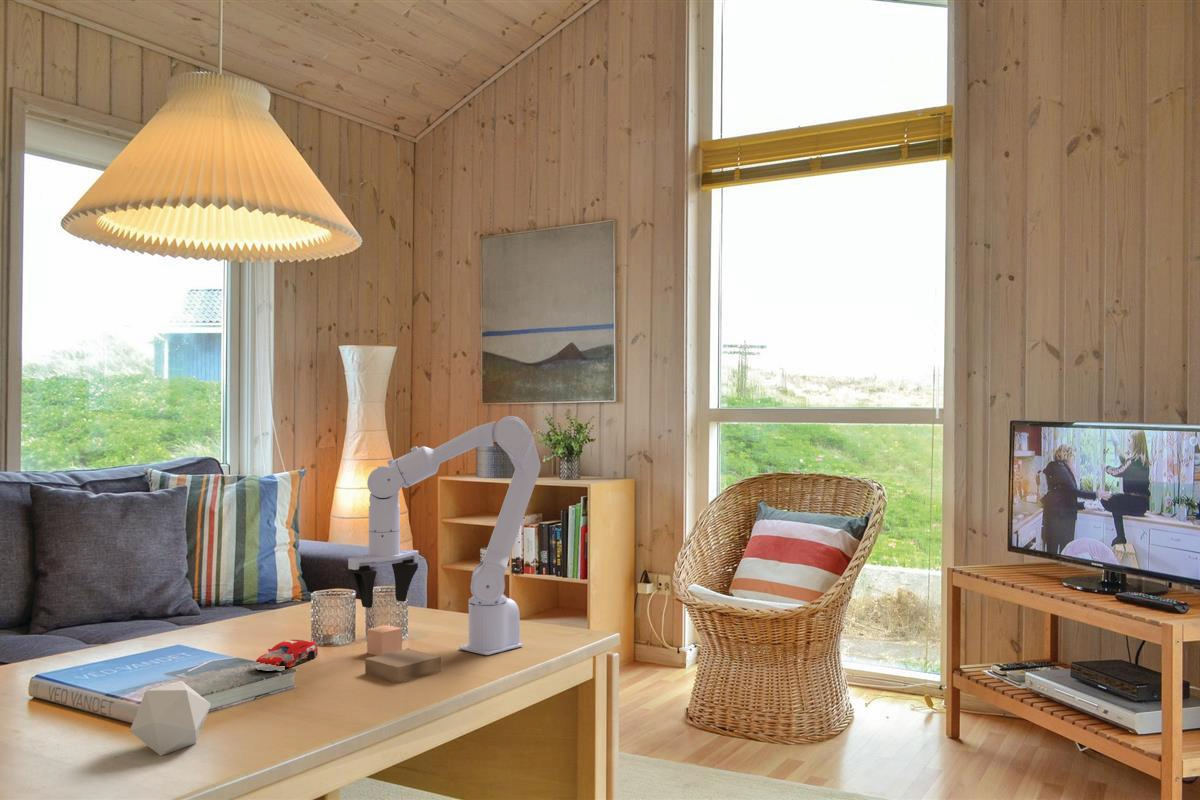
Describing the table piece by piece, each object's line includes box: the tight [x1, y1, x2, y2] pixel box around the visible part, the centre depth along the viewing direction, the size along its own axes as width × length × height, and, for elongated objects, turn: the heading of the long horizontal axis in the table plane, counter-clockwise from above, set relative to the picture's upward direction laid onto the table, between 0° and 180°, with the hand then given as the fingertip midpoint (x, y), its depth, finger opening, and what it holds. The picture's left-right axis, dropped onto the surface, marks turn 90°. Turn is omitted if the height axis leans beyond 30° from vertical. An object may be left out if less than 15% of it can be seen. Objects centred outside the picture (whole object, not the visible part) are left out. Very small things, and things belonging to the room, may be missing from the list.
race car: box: [255, 639, 318, 668], centre depth 166 cm, size 13×5×4 cm, turn 158°
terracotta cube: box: [366, 624, 403, 656], centre depth 174 cm, size 4×4×4 cm
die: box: [129, 680, 212, 756], centre depth 124 cm, size 8×9×10 cm
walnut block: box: [364, 648, 442, 684], centre depth 160 cm, size 9×9×3 cm
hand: (384, 603), depth 174 cm, fingers open, 7 cm apart
